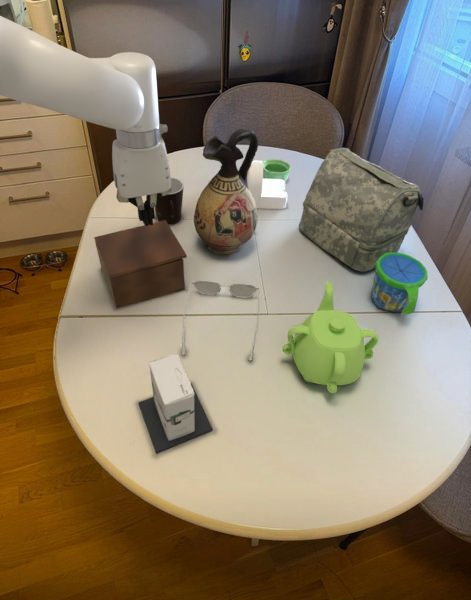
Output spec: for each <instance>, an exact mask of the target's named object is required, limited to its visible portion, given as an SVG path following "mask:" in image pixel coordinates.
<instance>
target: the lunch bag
mask: <svg viewBox="0 0 471 600" xmlns="http://www.w3.org/2000/svg"><path fill="white" fill-rule="evenodd" d="M424 200H425V199H424V197H423V195H422V193H421V190H420V186H419V185H417V183H412V182H409V181H406V180H405V179H404V178H402V177H399V176H397V175H395V174H394V173H392V172H390V171H388V170H387V169H385V168H383V167H381V166H380V165H377V164H375V163H372V162H369V161H368V160H366V159H363V158H361V156H360V155H357V154H356V153H355V152H352V151H351V150H350V149H349V148H347V147H340V148H334V149H329V152H328V153H327V155H326V156H325V158H324V160H323V161H322V162H321V164H320V166H319V167H318V170H317V171H316V174H315V175H314V178H313V180H312V182H311V184H310V187H309V189H308V191H307V193H306V195H305V199H304V200H303V202H302V207H303V208H302V213H301V217H300V221H299V223H298V228H299V230H300V232H302V233H303V234H304V235H305V236H306V237H307V238H309V239H310V240H311V241H312V242H313V243H315V244H316V245H317V246H319V248H321V249H322V250H324V251H325V252H326V253H329V254H330V255H332V256H333V257H335V258H337V259H338V260H339V261H340V262H342V263H343V264H344V265H346V266H348V267H350V268H351V269H353V270H354V271H357V272H368V271H371V270H374V269H376V267H375V265H376V261H378V259H379V258H380V257H381V255H382V254H383V253H390V252H391V253H399V250H400V248H401V246H402V245H403V242H404V240H405V237H406V236H407V234H408V233H409V230H410V228H411V226H412V224H413V221H414V218H415V214H416V212H417V209H418V208H419V209H418V210H420V211H423V210H424Z"/></svg>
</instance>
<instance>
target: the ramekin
mask: <svg viewBox="0 0 471 600" xmlns="http://www.w3.org/2000/svg"><path fill="white" fill-rule="evenodd" d="M290 171H291V165H290V163H289V162H287V161H285V160H282V159H278V158H270V159H266V160H264V161H263V179H282V180H284V181H285V183H286V182H287V181H288V178H289V174H290Z"/></svg>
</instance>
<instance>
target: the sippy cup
mask: <svg viewBox="0 0 471 600" xmlns="http://www.w3.org/2000/svg"><path fill="white" fill-rule="evenodd" d="M375 267H376V268H375V275H374V280H373V285H372V290H371V300H372V301H373V303H374V304H375V305H376V306H377V308H378V309H382V310H385V311H388V312H392V313H395V312H397V311H400V310H401V312H400V314H401V315H403V316H406V315H407V316H408V315H412V314H413V313H414V312H415V311H416V306H417V303H418V298H419V292H420V291H419V289H420V288H421V287H422V286H424V284H425V283H426V282H427V280H428V278H429V275H428V270H427V269H426V267H425V265H424V264H423V263H422V262H421V261H419V259H417V258H415V257H413V256H411V255H409V254H405V253H402V252H397V253H391V252H390V253H383V254H382V255H381V257H380V258H379V259H378V261H376V265H375Z"/></svg>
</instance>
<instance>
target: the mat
mask: <svg viewBox="0 0 471 600" xmlns="http://www.w3.org/2000/svg"><path fill="white" fill-rule="evenodd" d="M190 383H191V386H192V388H193V391H194V418H195V431H194V432H192V433H189V434H187V435H184V436H182V437H179V438H176V439H173V440H170V441H169V440H168V438H167V436H166V433H165V430H164V428H163V425H162V422H161V419H160V417H159V414H158V411H157V409H156V406H155V403H154V397H153V396H152V397H150V398H146V399H144V400H141V401H138V406H139V409H140V412H141V414H142V418H143V421H144V423H145V426H146V430H147V431H148V435H149V438H150V440H151V443H152V446H153V449H154V451H155V454H159V453H163V452H164V451H166V450H169V449H171V448H174V447H176V446H179V445H181V444H184V443H186V442H188V441H191V440H194V439H195V438H198V437H200V436H203V435H205V434H208V433H211V432H212V431H213V430H214V429H213V426H212V424H211V422H210V421H209V418H208V415H207V413H206V412H205V409H204V407H203V405H202V403H201V400H200V398H199V396H198V394H197V392H196V390H195V388H194V386H193V383H192V382H190Z"/></svg>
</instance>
